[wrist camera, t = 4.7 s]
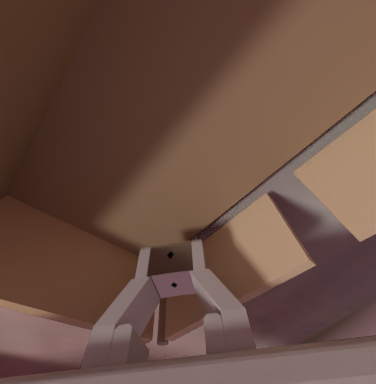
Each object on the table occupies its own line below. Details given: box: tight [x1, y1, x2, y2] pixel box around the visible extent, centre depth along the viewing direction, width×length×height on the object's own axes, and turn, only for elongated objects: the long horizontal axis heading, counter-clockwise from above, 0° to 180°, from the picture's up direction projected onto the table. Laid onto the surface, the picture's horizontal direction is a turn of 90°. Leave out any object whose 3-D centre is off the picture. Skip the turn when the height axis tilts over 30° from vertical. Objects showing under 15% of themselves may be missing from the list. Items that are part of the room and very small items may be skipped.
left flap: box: [157, 193, 316, 346], centre depth 11 cm, size 9×1×4 cm, turn 138°
